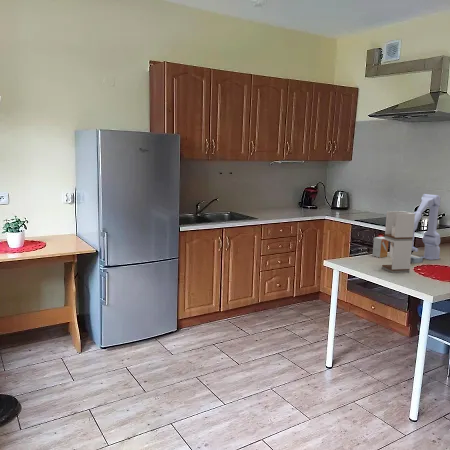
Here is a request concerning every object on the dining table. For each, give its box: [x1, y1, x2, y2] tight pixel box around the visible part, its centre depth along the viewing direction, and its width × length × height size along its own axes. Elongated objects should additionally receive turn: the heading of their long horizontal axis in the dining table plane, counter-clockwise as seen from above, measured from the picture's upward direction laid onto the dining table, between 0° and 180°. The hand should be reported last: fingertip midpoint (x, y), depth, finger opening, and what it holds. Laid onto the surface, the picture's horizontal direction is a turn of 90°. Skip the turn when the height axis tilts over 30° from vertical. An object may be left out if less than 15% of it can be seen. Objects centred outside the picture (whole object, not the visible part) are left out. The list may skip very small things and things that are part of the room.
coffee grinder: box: [381, 210, 415, 274], centre depth 258 cm, size 11×11×35 cm
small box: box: [371, 236, 390, 259], centre depth 295 cm, size 8×6×13 cm
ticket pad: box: [410, 254, 424, 264], centre depth 286 cm, size 7×13×3 cm, turn 22°
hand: (406, 260), depth 280 cm, fingers closed
